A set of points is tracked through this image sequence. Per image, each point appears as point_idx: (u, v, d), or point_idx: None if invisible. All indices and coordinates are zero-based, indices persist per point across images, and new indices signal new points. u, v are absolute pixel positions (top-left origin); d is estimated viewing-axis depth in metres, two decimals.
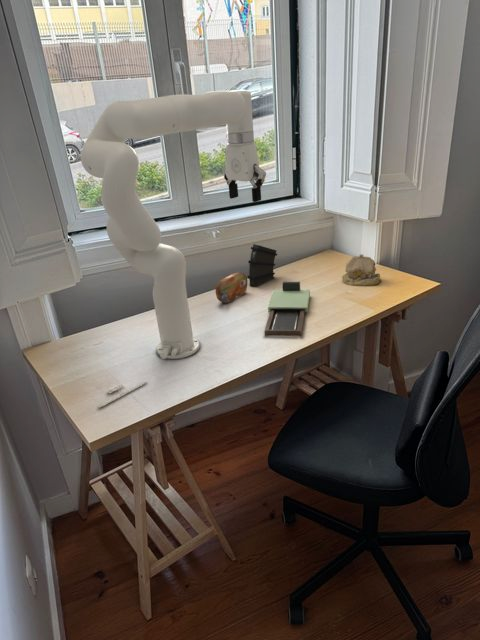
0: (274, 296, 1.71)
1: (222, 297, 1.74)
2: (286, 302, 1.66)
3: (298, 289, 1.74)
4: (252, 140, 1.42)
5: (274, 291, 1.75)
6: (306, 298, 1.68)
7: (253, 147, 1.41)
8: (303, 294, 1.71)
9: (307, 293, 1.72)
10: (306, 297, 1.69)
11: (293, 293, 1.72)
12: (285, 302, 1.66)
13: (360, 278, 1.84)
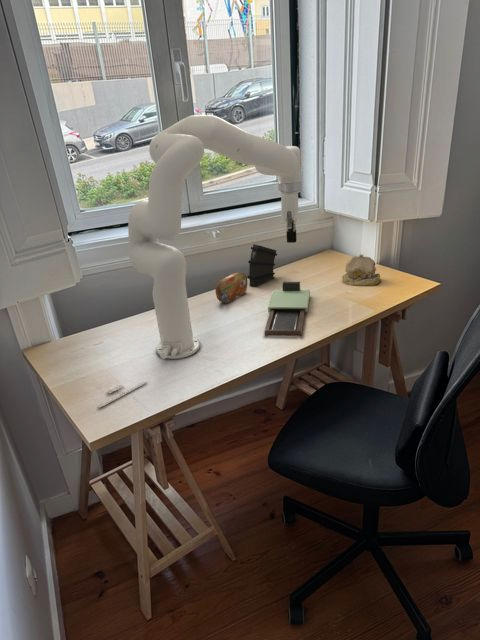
0: (274, 296, 1.71)
1: (222, 297, 1.74)
2: (286, 302, 1.66)
3: (298, 289, 1.74)
4: (292, 191, 1.60)
5: (274, 291, 1.75)
6: (306, 298, 1.68)
7: (289, 197, 1.60)
8: (303, 294, 1.71)
9: (307, 293, 1.72)
10: (306, 297, 1.69)
11: (293, 293, 1.72)
12: (285, 302, 1.66)
13: (360, 278, 1.84)
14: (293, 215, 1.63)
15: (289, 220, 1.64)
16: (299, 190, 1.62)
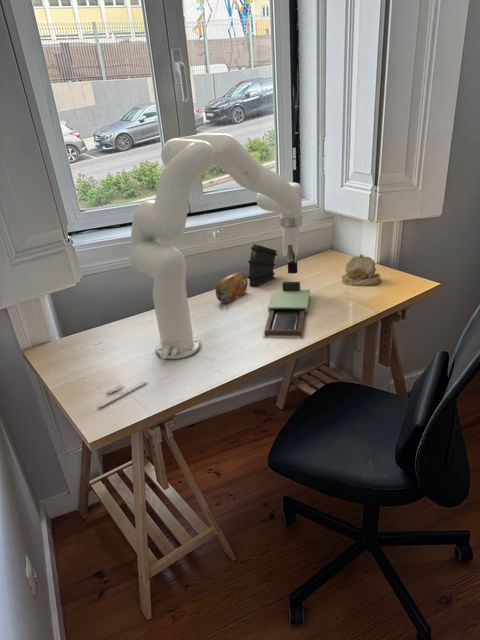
0: (274, 296, 1.71)
1: (222, 297, 1.74)
2: (286, 302, 1.66)
3: (298, 289, 1.74)
4: (293, 225, 1.66)
5: (274, 291, 1.75)
6: (306, 298, 1.68)
7: (290, 231, 1.66)
8: (303, 294, 1.71)
9: (307, 293, 1.72)
10: (306, 297, 1.69)
11: (293, 293, 1.72)
12: (285, 302, 1.66)
13: (360, 278, 1.84)
14: (294, 248, 1.68)
15: (290, 253, 1.69)
16: (300, 224, 1.67)
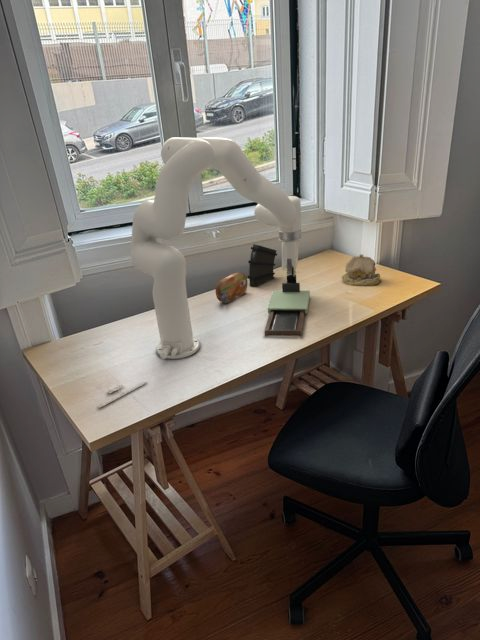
0: (274, 297, 1.70)
1: (222, 297, 1.74)
2: (285, 304, 1.65)
3: (298, 290, 1.73)
4: (292, 239, 1.64)
5: (274, 292, 1.74)
6: (306, 299, 1.67)
7: (289, 245, 1.64)
8: (303, 295, 1.70)
9: (307, 294, 1.71)
10: (306, 298, 1.68)
11: (293, 294, 1.71)
12: (285, 303, 1.65)
13: (360, 278, 1.84)
14: (293, 262, 1.66)
15: (289, 267, 1.67)
16: (299, 238, 1.65)
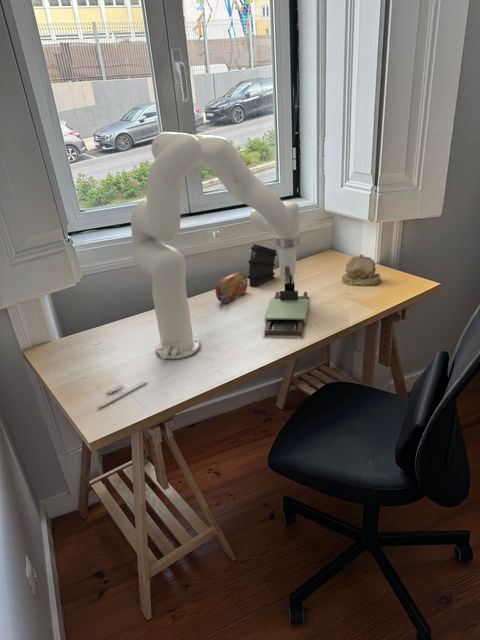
0: (271, 306, 1.64)
1: (222, 297, 1.74)
2: (283, 313, 1.59)
3: (296, 298, 1.67)
4: (290, 246, 1.58)
5: (271, 300, 1.68)
6: (304, 308, 1.61)
7: (287, 252, 1.58)
8: (301, 304, 1.64)
9: (305, 303, 1.65)
10: (305, 307, 1.62)
11: (291, 303, 1.65)
12: (282, 312, 1.59)
13: (360, 278, 1.84)
14: (291, 270, 1.60)
15: (287, 275, 1.61)
16: (297, 245, 1.59)
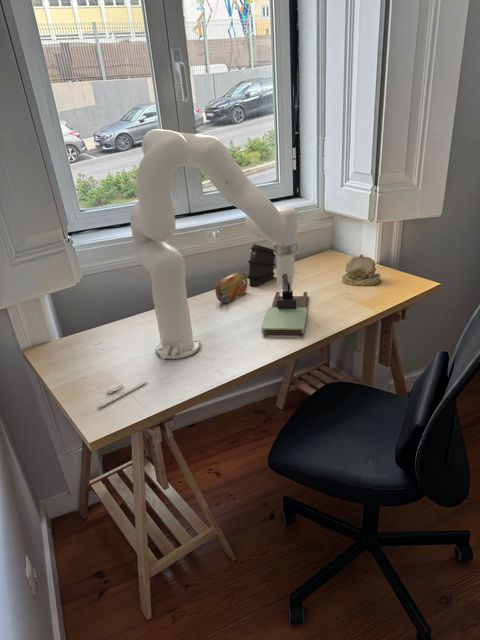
0: (268, 315, 1.58)
1: (222, 297, 1.74)
2: (281, 322, 1.53)
3: (294, 307, 1.61)
4: (288, 253, 1.52)
5: (268, 309, 1.62)
6: (303, 317, 1.55)
7: (285, 260, 1.52)
8: (300, 313, 1.58)
9: (304, 312, 1.59)
10: (303, 316, 1.56)
11: (289, 312, 1.59)
12: (280, 322, 1.53)
13: (360, 278, 1.84)
14: (289, 278, 1.54)
15: (285, 283, 1.55)
16: (295, 252, 1.53)
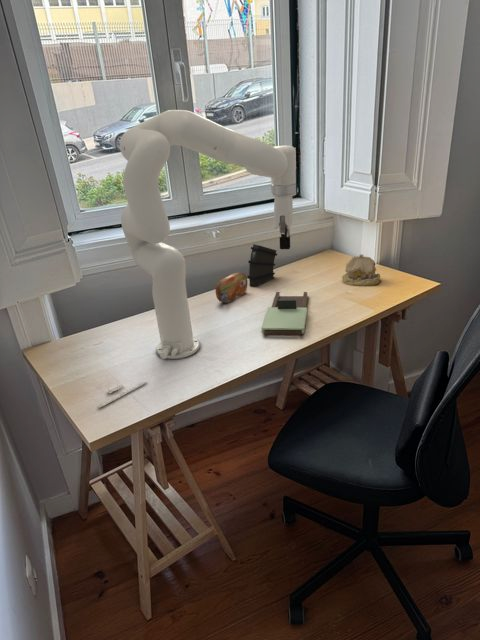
0: (268, 315, 1.58)
1: (222, 297, 1.74)
2: (281, 322, 1.53)
3: (294, 307, 1.61)
4: (286, 193, 1.49)
5: (268, 309, 1.62)
6: (303, 317, 1.55)
7: (282, 200, 1.49)
8: (300, 313, 1.58)
9: (304, 312, 1.59)
10: (303, 316, 1.56)
11: (289, 311, 1.59)
12: (280, 322, 1.53)
13: (360, 278, 1.84)
14: (287, 220, 1.51)
15: (282, 225, 1.52)
16: (293, 193, 1.50)
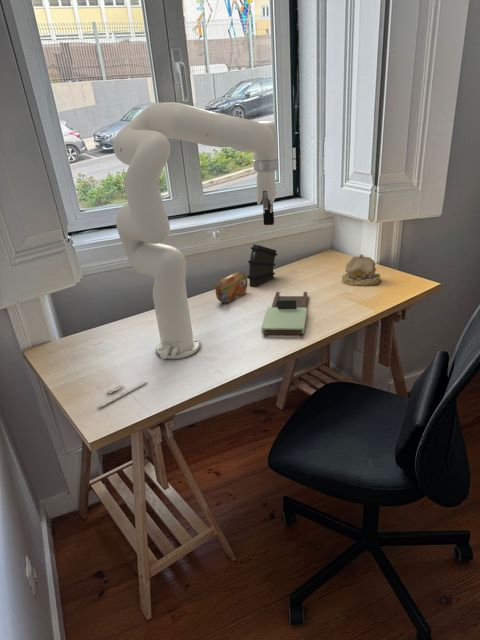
0: (268, 315, 1.58)
1: (222, 297, 1.74)
2: (281, 322, 1.53)
3: (294, 307, 1.61)
4: (268, 169, 1.51)
5: (268, 309, 1.62)
6: (303, 317, 1.55)
7: (264, 175, 1.51)
8: (300, 313, 1.58)
9: (304, 312, 1.59)
10: (303, 316, 1.56)
11: (289, 311, 1.59)
12: (280, 322, 1.53)
13: (360, 278, 1.84)
14: (269, 195, 1.54)
15: (265, 200, 1.55)
16: (275, 168, 1.53)
